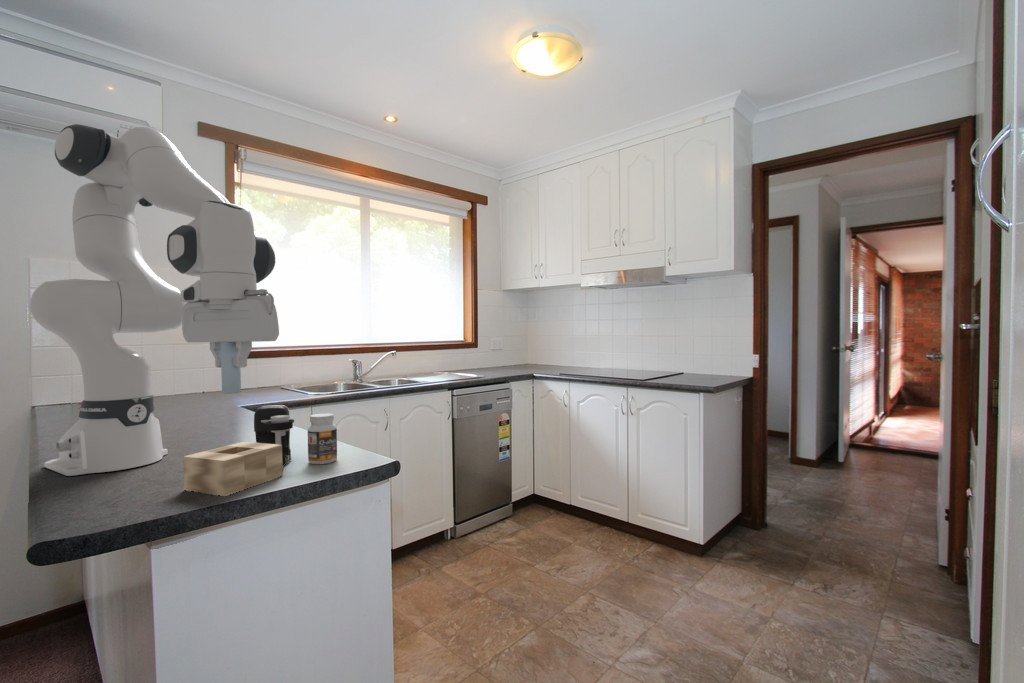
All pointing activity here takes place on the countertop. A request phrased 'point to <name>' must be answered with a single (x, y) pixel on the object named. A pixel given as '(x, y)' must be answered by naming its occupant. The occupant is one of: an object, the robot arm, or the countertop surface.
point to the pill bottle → (322, 439)
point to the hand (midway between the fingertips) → (231, 367)
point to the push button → (281, 433)
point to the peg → (229, 369)
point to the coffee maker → (261, 428)
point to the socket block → (232, 468)
